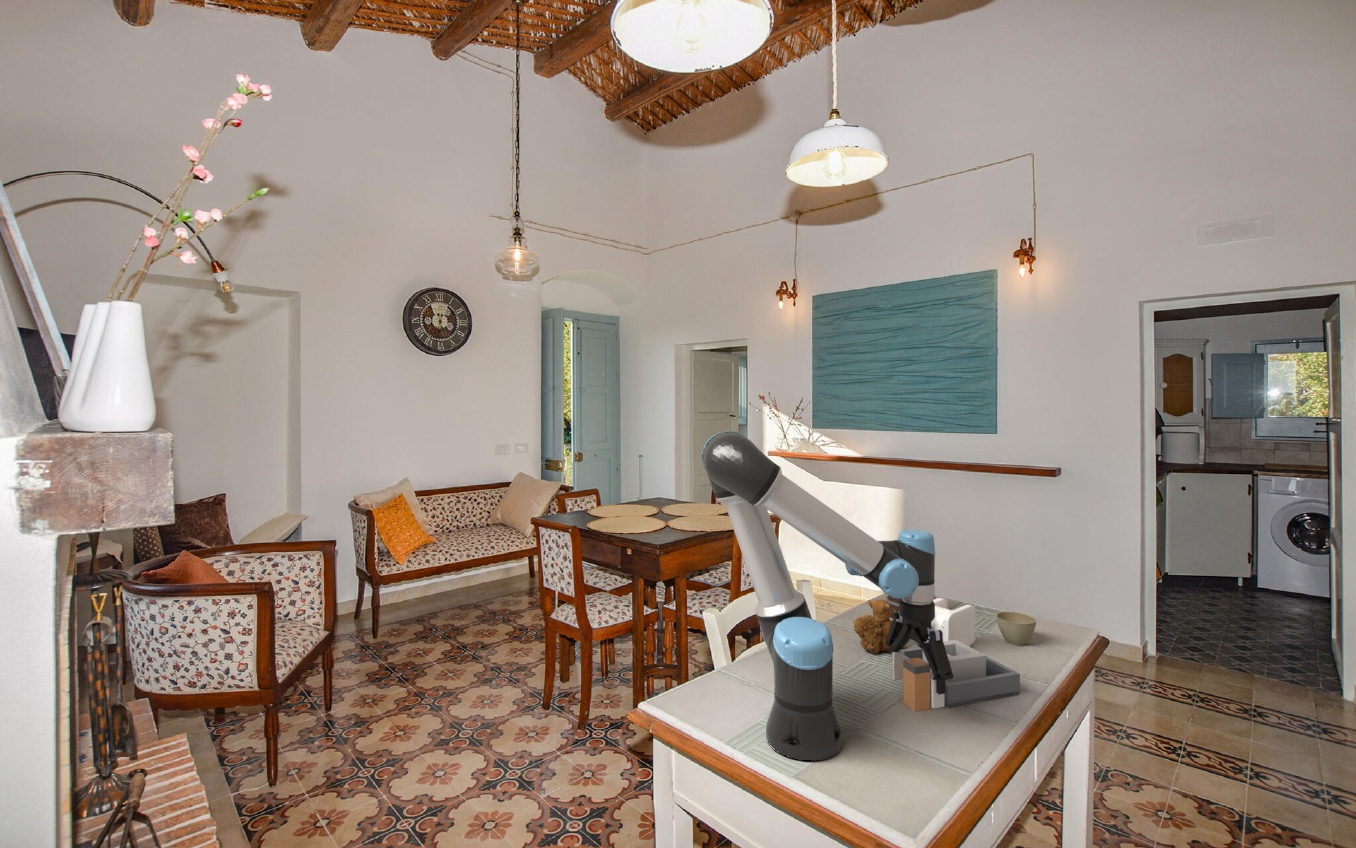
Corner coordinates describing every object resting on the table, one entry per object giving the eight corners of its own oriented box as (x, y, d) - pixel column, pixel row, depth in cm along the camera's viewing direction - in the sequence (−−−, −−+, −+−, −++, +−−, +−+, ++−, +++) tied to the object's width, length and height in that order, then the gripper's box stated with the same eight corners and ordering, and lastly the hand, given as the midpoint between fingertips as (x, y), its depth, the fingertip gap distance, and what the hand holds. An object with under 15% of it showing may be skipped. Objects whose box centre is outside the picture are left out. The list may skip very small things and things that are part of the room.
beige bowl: (1036, 639, 174) (1037, 615, 174) (1035, 652, 166) (1035, 626, 166) (997, 632, 180) (997, 609, 180) (994, 644, 171) (994, 619, 171)
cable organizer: (947, 659, 162) (947, 616, 162) (911, 646, 171) (911, 605, 170) (976, 645, 171) (976, 604, 171) (940, 634, 180) (940, 595, 179)
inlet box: (948, 708, 137) (948, 672, 136) (893, 670, 156) (893, 639, 156) (1019, 694, 142) (1020, 661, 142) (958, 660, 161) (958, 630, 161)
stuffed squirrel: (909, 648, 169) (909, 602, 169) (876, 661, 162) (876, 612, 161) (879, 637, 178) (879, 592, 177) (846, 648, 170) (846, 602, 169)
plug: (914, 711, 135) (914, 667, 135) (903, 702, 139) (903, 659, 139) (930, 708, 137) (930, 664, 136) (918, 700, 140) (918, 657, 140)
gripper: (971, 616, 126) (971, 716, 127) (896, 582, 150) (897, 667, 151) (941, 620, 124) (941, 722, 125) (869, 585, 148) (870, 671, 149)
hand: (917, 692), depth 138 cm, fingers open, 13 cm apart
